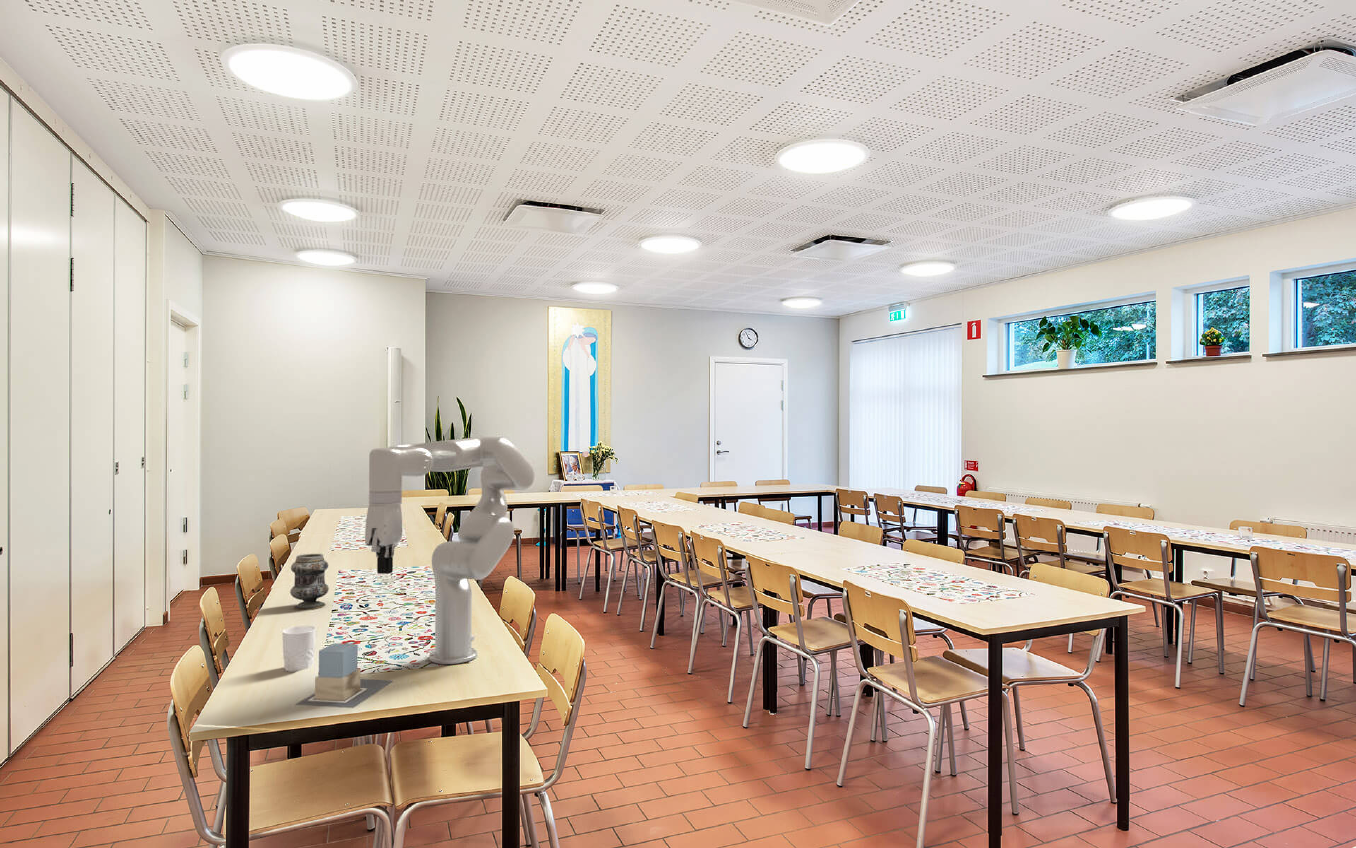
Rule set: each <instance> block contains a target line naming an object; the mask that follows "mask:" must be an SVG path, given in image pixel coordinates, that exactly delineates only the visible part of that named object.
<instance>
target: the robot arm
mask: <svg viewBox="0 0 1356 848" xmlns="http://www.w3.org/2000/svg"><path fill="white" fill-rule="evenodd" d="M368 460H369V462H368V463H369V464H368V465H369V466H368V469H369V470H368V506H367V507H368V508H367V512H366V519H365V529H364V530H365V532H364V533H365V535H364V544H365V545H366V546H367V547H371V550H370V552H372V553H375V556H376V558H377V560H376V562H377V563H376V564H377V565H376V568H377V569H376V570H377V571H376V572H377V574H380V575H381V574H382V575H389V574H393V572H394V571H393V570H394V568H393V567H394V564H393V563H394V556H395V555H394V554H395V548H397V547H398V545H399V542H400V541H401V540H402V538H403V515H402V507H401V505H402V504H403V503H402V500H403V499H402V498H403V497H402V496H403V495H402V493H403V492H402V491H403V490H402V489H403V487H402V486H403V483H402V482H403V480H402V479H403V477H412V478H413V477H416V478H417V477H422V476H426V475H427V474H428V473H429V472H437V473H438V472H440V473H441V472H442V473H445V472H455V471H461V470H462V471H463V470H467V469H474V468H481V467H482V468H481V470H480V484H481V495H480V496H481V497H480V499H479V501H478V502H477V504H476V506H474V508H473V509H472V510H471V512H469V514H468V516H466V518H465V519H464V520H463V522H462V523H461V525H460V526H459V528H458V530H457V532H458V533H457V537H458V540H459V541H454V540H452V541H451V540H450V541H445V542H442V543H439V544H438V545H437V546H436V548H435V549H433V552H432V556H431V568H432V572H433V577H434V584H435V585H434V586H435V588H434V589H435V590H434V591H435V598H434V599H435V601H434V604H435V606H434V610H435V611H434V612H435V613H434V614H435V615H434V616H435V618H434V619H435V620H434V625H435V626H434V628H435V630H434V650H433V651H432V652H430V653H429V655H428V660H429V661H430V662H432V663H433V664H438V665H439V664H441V665H455V664H461V663H467V662H469V661H472V660H474V659H476V657H477V656H478V651H477V649H475V648H473V647H472V642H473V641H474V640H475V636H474V634H472V618H473V617H472V615H473V614H472V610H473V609H472V608H473V607H472V605H473V603H472V601H473V600H472V599H473V597H472V596H473V594H472V593H473V592H472V587H471V583H470V581H469V580H473V581H476V580H477V581H478V580H484V579H485V578H487V577H488V576H489V575H491V573H492V572H493V571H494V570H495V568H496V567H497V565H498V563H500V561H501V559H502V558H503V557H504V555H505V554H506V552H507V551H508V550H509V548H510V546H511V544H512V543H513V539H514V536H515V528H514V524H513V522H512V521H511V520H510V519H509V518H508V517H507V516H506V515H507V512H508V502H507V500H506V496H505V491H518V492H519V491H525V490H527V489H529V488H530V487H531V486H532V485H533V484H534V481H535V472H534V468H533V466H532V464H531V463H530V462H529V460H528V459H527V458H526V456H524V454H522V452H520V450H519V449H518V448H517V447H516V445H514V444H513V443H512V442H511V441H510V440H508V439H507V438H505V437H502V436H499V437H498V436H492V437H491V436H477V437H476V436H475V437H467V438H458V439H449V440H448V439H447V440H438V441H437V440H436V441H433V442H422V443H421V442H420V443H412V444H401V445H400V444H399V445H393V446H391V445H390V446H389V447H386V448H385V447H384V448H374V449H372V450H371V451H370V452H369V457H368Z"/></svg>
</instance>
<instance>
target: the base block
mask: <svg viewBox="0 0 1356 848" xmlns="http://www.w3.org/2000/svg"><path fill="white" fill-rule="evenodd" d="M360 679H361V669H358V668H357V670H356V671H354V672H353V673H351V674H349V675H347V676H346V677H344V678H332V677H319V675H317V676H315V677H314V693H315V699H318V700H336V701H344V700H346V699H347V698H349V697H351V696H352V695H354V694H355V693H357V692H358V691H360Z"/></svg>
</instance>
